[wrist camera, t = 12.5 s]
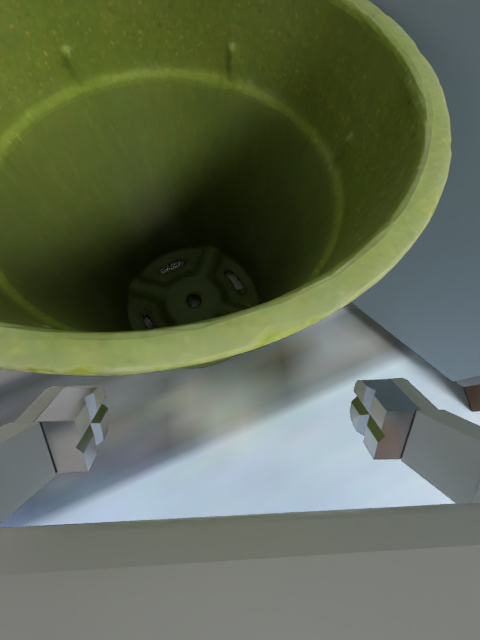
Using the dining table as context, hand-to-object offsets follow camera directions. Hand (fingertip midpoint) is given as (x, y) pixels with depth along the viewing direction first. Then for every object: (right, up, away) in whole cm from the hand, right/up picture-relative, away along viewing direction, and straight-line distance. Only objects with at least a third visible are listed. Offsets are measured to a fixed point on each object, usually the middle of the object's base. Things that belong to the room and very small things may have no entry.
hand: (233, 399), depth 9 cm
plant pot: (-2, +3, +7) cm, 8 cm away
